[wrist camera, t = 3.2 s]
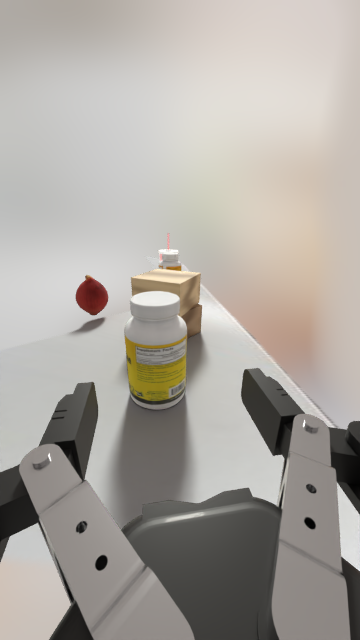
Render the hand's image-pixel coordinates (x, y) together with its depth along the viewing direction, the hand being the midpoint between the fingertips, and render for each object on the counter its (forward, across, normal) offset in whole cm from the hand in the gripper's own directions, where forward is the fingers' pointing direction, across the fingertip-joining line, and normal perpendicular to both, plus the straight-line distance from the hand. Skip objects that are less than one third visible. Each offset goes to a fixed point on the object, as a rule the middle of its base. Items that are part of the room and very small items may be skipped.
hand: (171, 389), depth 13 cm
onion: (+36, +11, +9) cm, 39 cm away
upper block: (+27, -2, +4) cm, 27 cm away
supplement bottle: (+50, -6, +9) cm, 51 cm away
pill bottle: (+12, 0, +10) cm, 15 cm away
